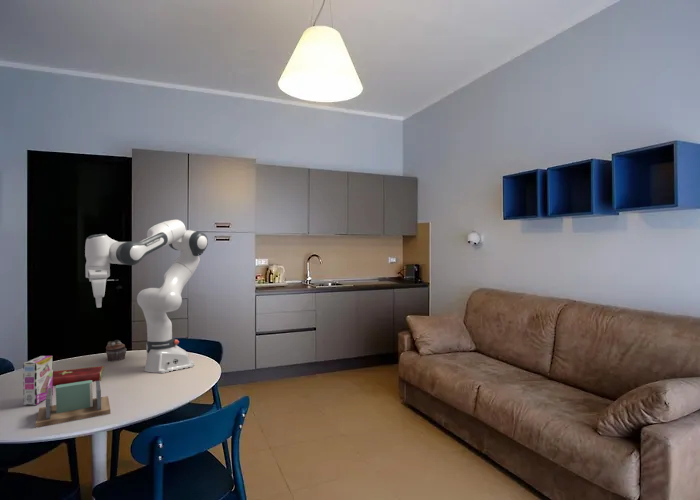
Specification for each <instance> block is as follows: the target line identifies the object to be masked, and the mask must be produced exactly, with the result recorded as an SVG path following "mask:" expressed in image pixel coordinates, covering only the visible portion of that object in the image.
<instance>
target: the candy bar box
mask: <svg viewBox="0 0 700 500" xmlns="http://www.w3.org/2000/svg"><path fill="white" fill-rule="evenodd" d="M53 360H54V359H53V355H40V356H37V357H34V358H33V359H29V360H28V361H25V362H23V364H22V365H23V366H22V368H23V369H22V371H23V372H22V374H23V376H22V377H23V378H22V379H23V382H22V384H23V406H37V405H39V404H41V403H43V401H46V395H47V391H48V388H52V396H54V386H53V371H54V367H53V365H54V363H53Z"/></svg>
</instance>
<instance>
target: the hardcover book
mask: <svg viewBox="0 0 700 500" xmlns="http://www.w3.org/2000/svg"><path fill="white" fill-rule="evenodd" d="M104 368H105V365H100V366H99V365H98V366H91V367H81V368H71V369H62V370H53V387H56V385H62V384H69V383H75V382H82V381H88V380H92V383H93V382H96V381H100V382H101V381H102V377H103V376H104V373H105V371H104Z"/></svg>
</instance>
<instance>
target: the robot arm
mask: <svg viewBox="0 0 700 500" xmlns="http://www.w3.org/2000/svg"><path fill="white" fill-rule="evenodd" d="M208 245H209V239H208V236H207V235H206V234H205V233H203V232H201V231H196V230H191V229H186V226H185V223H184V222H183V221H182V220H180V219H170V220H165V221H162V222H159V223H157V224H155V225H152V227H150V228H149V229H148V230H147V231H146V238H144V239H142V240H140V241H118V240H115V239H114V238H113V239H112V238H111V237H109V236H108V235H107V234H106V233H99V234H91V235H89V236H88V237H86V239H85V246H84V249H85V250H84V253H85V254H84V257H85V260H86V262H85V278H86V279H88V280H89V282H91V287H92V293H93V298H95V305H96V308H97V309H98V308H102V302H103V298H104V297H105V294H106V293H105V292H106V285H107V279H108V278H109V277H110V276H111V269H110V267H111V264H112V265H113V264H115V265H116V264H117V265H127V266H135V265H138V264H139V263H140V262H141V261H142V260H143V259H144V258H145V257H146V256H147V255H149V254H151V253H153V252H154V251H156V250H158V249H160V248H161V249H162V248H163V247H166V246H169V247H170V248H171V249H172V250H175V251H180V253H179V255H178V257H177V258H176V259H175V260H174V262H173V263H172V264H171V265H170V266H169V267H168V269H167V270H166V271H165V273H164V274H163V280H164V281H163V284H162V285H161V287H159V288H158V287H148V288H145V289H141V290H140V291H139V293H138V294H137V296H136V302H137V305H138V306H139V307H140V309H141V310H142V313H143V315H144V319H145V323H146V333H147V339H146V344H145V346H146V347H145V348H146V362H145V366H144V370H143V371H145V372H146V373H147V372H148V373H158V374H166V373H170V372H169V371H171V372H174V371H173V370H176V371H179V370H178V369H181V370H183V369H182V368H185V369H189V368H188V367H190V368H193V367H194V366H195V363H194V362H195V361H194V360H192V359H190V357H189V353H188V351H186V350H185V349H183V348H181V347H180V346H178V345H179V343H180V341H179V340H178V339H176V338H174V337H173V324H172V323H173V322H172V321H171V319H170V318H169V317H168V314H167V313H169V312H171V313H172V312H175V311H177V310H178V309H180V308H181V305H182V302H183V297H182V292H183V289H184V287H185V286H186V284H187V283H188V282H189V280H190V279H191V278H192V276H193V274H194V273H195V272H196V270H197V268H198V266H199V264H200V262H201V261H200V260H201V259H200V256H201V255H203V254H204V251H206V249H207V247H208ZM165 372H166V373H165Z"/></svg>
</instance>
